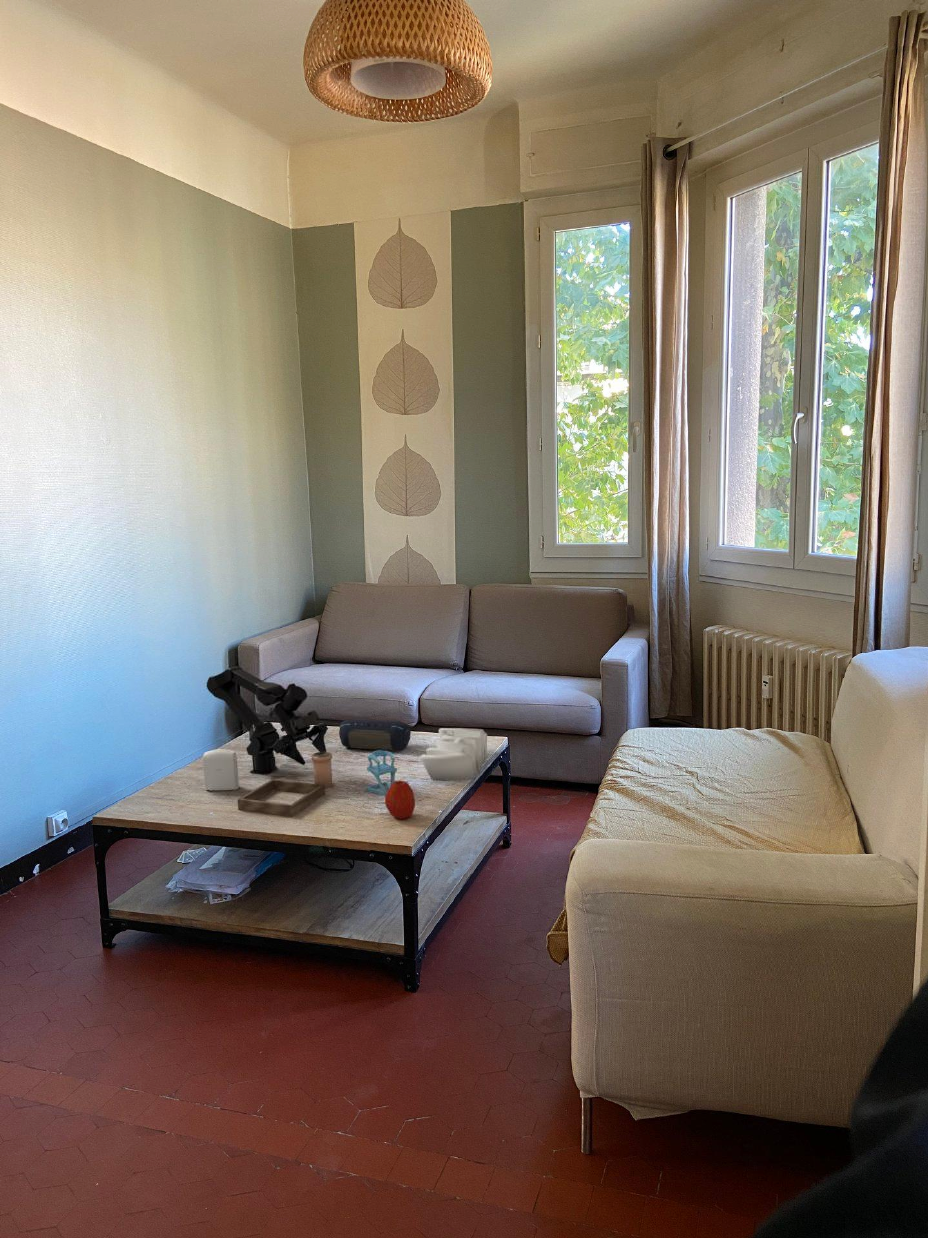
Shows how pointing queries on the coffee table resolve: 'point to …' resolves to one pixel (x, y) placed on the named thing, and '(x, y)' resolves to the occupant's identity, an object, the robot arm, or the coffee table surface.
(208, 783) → the photo printer
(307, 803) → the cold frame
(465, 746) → the white wavy slab sculpture
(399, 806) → the apple
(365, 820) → the coffee table surface
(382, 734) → the portable speaker
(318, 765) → the terracotta pot
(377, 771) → the chair
